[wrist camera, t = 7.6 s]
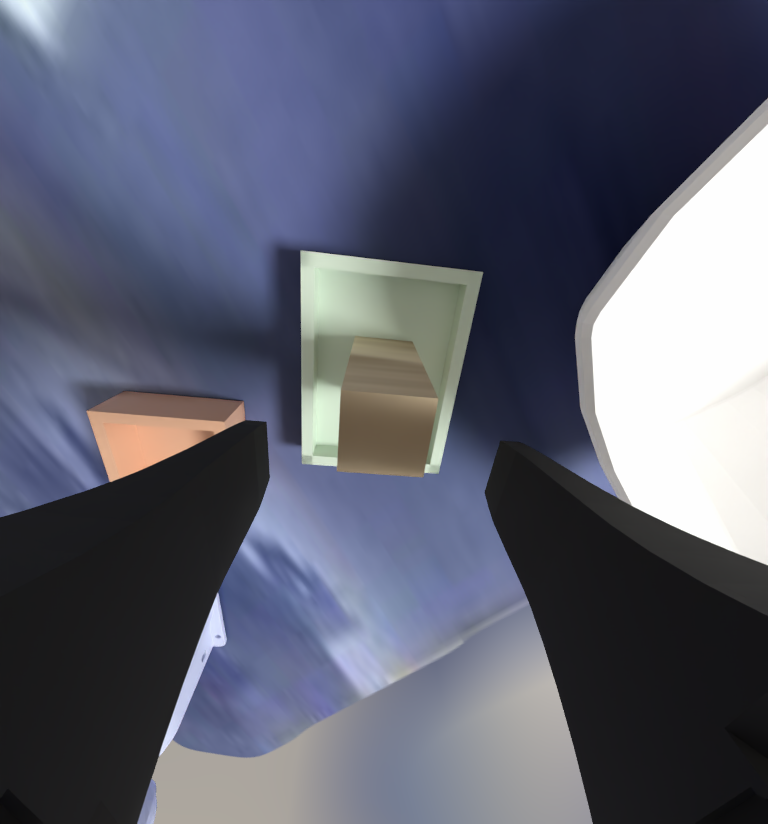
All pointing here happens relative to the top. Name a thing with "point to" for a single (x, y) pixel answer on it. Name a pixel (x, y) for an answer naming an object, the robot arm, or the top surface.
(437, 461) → the tray
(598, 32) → the top surface
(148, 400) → the orange open box
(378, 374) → the beech pin
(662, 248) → the bowl
